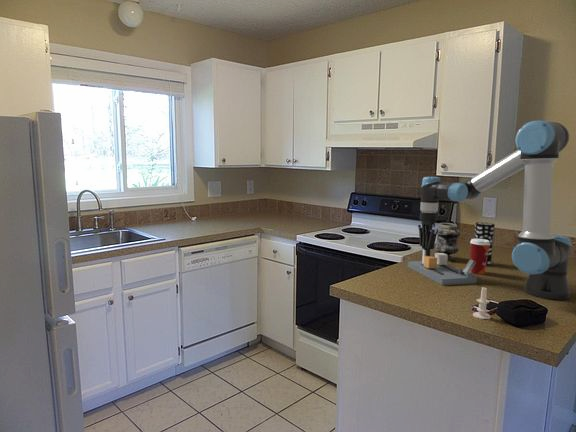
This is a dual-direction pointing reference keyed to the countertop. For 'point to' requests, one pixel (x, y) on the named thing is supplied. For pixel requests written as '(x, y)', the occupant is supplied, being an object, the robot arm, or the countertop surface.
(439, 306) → the countertop surface
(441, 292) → the countertop surface
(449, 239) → the apothecary jar
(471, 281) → the panel
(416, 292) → the countertop surface
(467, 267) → the paddle lever
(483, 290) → the candle
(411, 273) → the countertop surface
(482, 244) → the coffee cup
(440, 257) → the block
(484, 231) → the white-spotted black cylinder
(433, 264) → the orange fader
